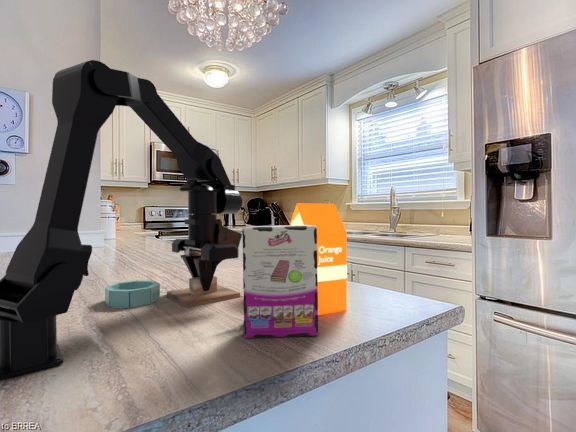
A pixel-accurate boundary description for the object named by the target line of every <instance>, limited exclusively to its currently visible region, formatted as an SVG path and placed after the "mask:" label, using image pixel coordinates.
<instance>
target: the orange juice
mask: <svg viewBox="0 0 576 432" xmlns="http://www.w3.org/2000/svg"><path fill="white" fill-rule="evenodd" d="M294 208H295V209H294V212H293V214H292V217H291V220H290V223H289V225H314V226H317V271H318V275H317V277H318V316H320V315H327V314H332V313H338V312H339V313H340V312H343V311H344V312H345V311H347V310H348V309H347V307H348V303H347V301H348V300H347V298H348V296H347V294H348V291H347V289H348V285H347V282H348V281H347V278H348V263H347V262H348V261H347V260H348V259H347V258H348V257H347V256H348V254H347V253H348V249H347V248H348V246H347V242H348V240H347V237H348V235H347V234H348V233H347V231H346V228H345V226H344V223H343V221H342V218H341V217H340V213H339V211H338V208H337V206H336V204H335V203H302V202H301V203H299V202H298V203H296V205H295V207H294Z"/></svg>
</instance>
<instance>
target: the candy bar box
mask: <svg viewBox="0 0 576 432" xmlns="http://www.w3.org/2000/svg"><path fill="white" fill-rule="evenodd" d="M241 234H242V274H243V278H242V281H243V282H242V283H243V284H242V286H243V288H242V289H243V337H244V339H263V338H265V339H267V338H271V339H272V338H292V337H293V338H295V337H311V336H312V337H315V336H318V335H319V315H318V277H317V275H318V271H317V226H314V225H290V224H289V225H288V224H287V225H284V224H283V225H251V226H250V225H249V226H248V225H247V226H244V227H243V228H242V233H241Z"/></svg>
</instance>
